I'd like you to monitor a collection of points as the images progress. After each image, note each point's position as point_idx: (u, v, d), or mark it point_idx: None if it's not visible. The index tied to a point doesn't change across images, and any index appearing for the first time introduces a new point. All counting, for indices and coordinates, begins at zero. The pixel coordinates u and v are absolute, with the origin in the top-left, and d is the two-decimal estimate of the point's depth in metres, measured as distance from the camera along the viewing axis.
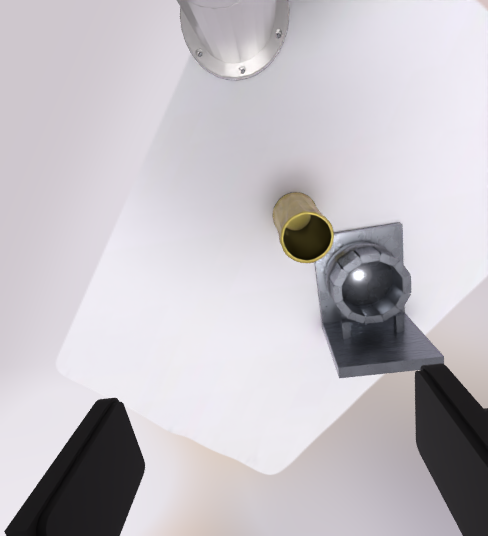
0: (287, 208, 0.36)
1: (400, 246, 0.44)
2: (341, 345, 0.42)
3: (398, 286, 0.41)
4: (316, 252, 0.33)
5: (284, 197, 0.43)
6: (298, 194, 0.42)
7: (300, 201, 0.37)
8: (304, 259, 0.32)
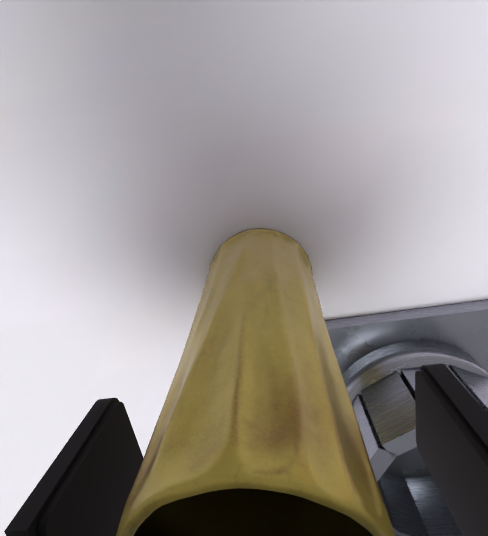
0: (209, 319, 0.10)
1: None
2: None
3: None
4: None
5: (232, 242, 0.17)
6: (265, 236, 0.17)
7: (259, 282, 0.12)
8: None
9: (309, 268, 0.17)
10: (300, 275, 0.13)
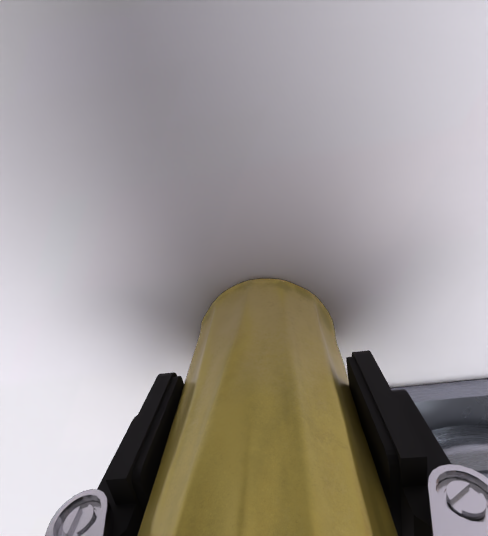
0: (181, 485, 0.06)
1: None
2: None
3: None
4: None
5: (230, 296, 0.13)
6: (275, 291, 0.13)
7: (268, 396, 0.07)
8: None
9: (332, 332, 0.13)
10: (328, 366, 0.09)
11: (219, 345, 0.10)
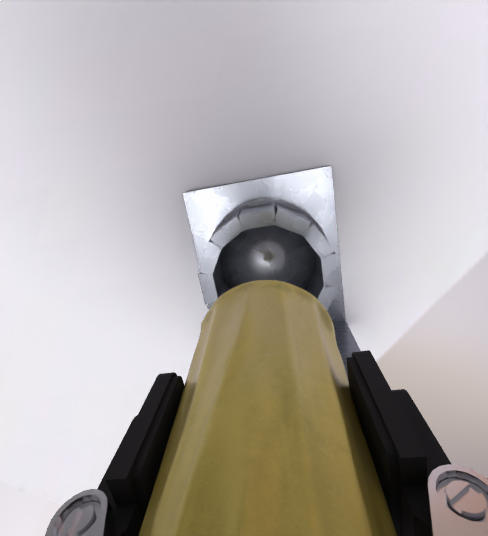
0: (181, 488, 0.06)
1: (330, 206, 0.25)
2: None
3: (320, 274, 0.23)
4: None
5: (230, 297, 0.13)
6: (275, 292, 0.13)
7: (268, 399, 0.07)
8: None
9: (333, 334, 0.13)
10: (328, 368, 0.09)
11: (219, 347, 0.10)
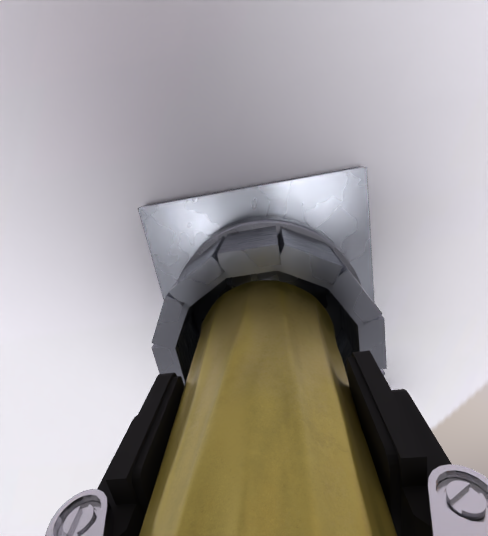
0: (182, 489, 0.06)
1: (363, 229, 0.17)
2: None
3: (351, 343, 0.14)
4: None
5: (230, 298, 0.13)
6: (275, 292, 0.13)
7: (268, 399, 0.07)
8: None
9: (333, 334, 0.13)
10: (328, 369, 0.09)
11: (219, 347, 0.10)
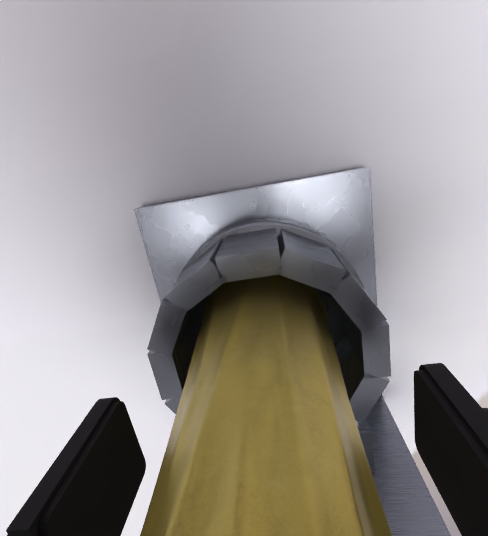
0: (193, 434, 0.07)
1: (366, 231, 0.16)
2: None
3: (354, 349, 0.14)
4: None
5: (230, 283, 0.14)
6: (270, 277, 0.14)
7: (264, 365, 0.09)
8: None
9: (324, 314, 0.14)
10: (317, 341, 0.10)
11: (221, 326, 0.11)
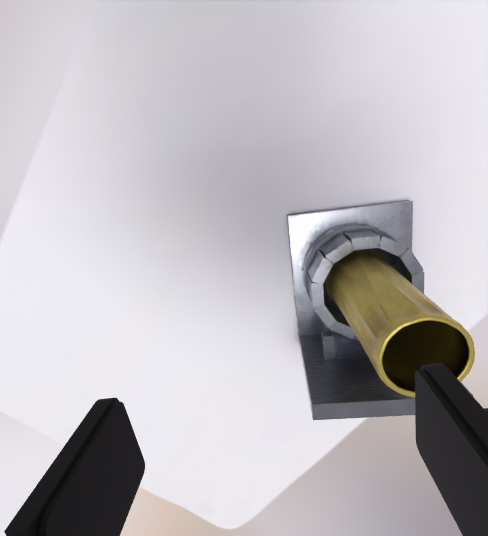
0: (368, 287, 0.22)
1: (408, 233, 0.31)
2: (320, 369, 0.29)
3: None
4: None
5: None
6: (365, 251, 0.29)
7: (384, 272, 0.24)
8: (412, 388, 0.19)
9: None
10: None
11: (353, 266, 0.26)
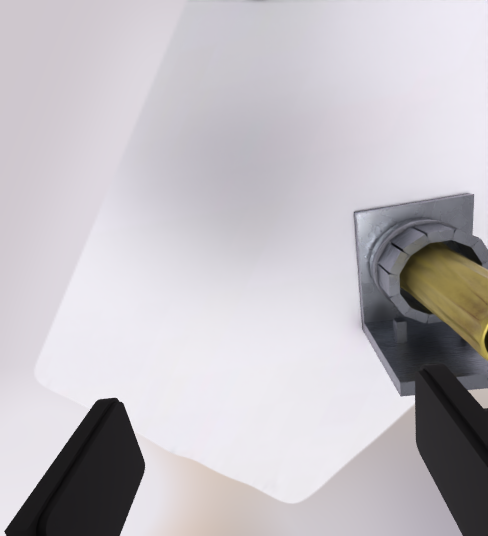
0: (454, 276, 0.25)
1: (469, 224, 0.34)
2: (396, 352, 0.32)
3: None
4: None
5: None
6: (434, 243, 0.32)
7: (464, 262, 0.27)
8: None
9: None
10: (471, 261, 0.28)
11: (429, 258, 0.29)
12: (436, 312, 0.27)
